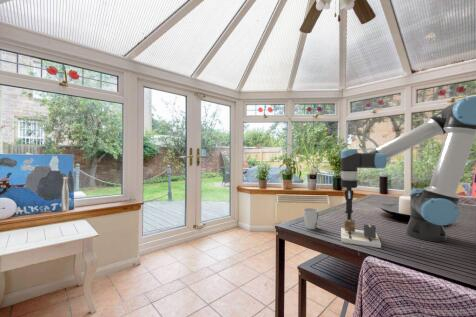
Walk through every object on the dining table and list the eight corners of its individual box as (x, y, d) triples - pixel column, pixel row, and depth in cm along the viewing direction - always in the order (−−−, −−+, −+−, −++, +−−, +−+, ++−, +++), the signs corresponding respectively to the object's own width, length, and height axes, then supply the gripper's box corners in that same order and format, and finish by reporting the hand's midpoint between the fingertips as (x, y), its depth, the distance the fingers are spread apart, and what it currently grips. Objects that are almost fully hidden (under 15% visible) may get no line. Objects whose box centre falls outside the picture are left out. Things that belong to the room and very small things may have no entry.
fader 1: (354, 229, 107) (354, 220, 107) (354, 232, 104) (354, 221, 104) (344, 228, 109) (344, 218, 109) (344, 230, 106) (344, 220, 106)
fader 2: (374, 235, 99) (374, 225, 99) (375, 238, 96) (375, 227, 96) (363, 234, 101) (363, 223, 101) (364, 236, 98) (364, 225, 98)
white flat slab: (375, 236, 106) (375, 231, 106) (381, 248, 93) (381, 242, 93) (341, 231, 113) (341, 227, 113) (341, 242, 99) (341, 237, 99)
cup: (319, 230, 115) (319, 212, 114) (304, 229, 116) (304, 211, 116) (317, 225, 123) (317, 208, 122) (302, 225, 124) (302, 207, 124)
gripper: (340, 177, 117) (340, 220, 117) (340, 180, 105) (340, 228, 105) (356, 178, 113) (356, 222, 114) (358, 181, 102) (358, 230, 102)
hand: (349, 225), depth 109 cm, fingers closed
